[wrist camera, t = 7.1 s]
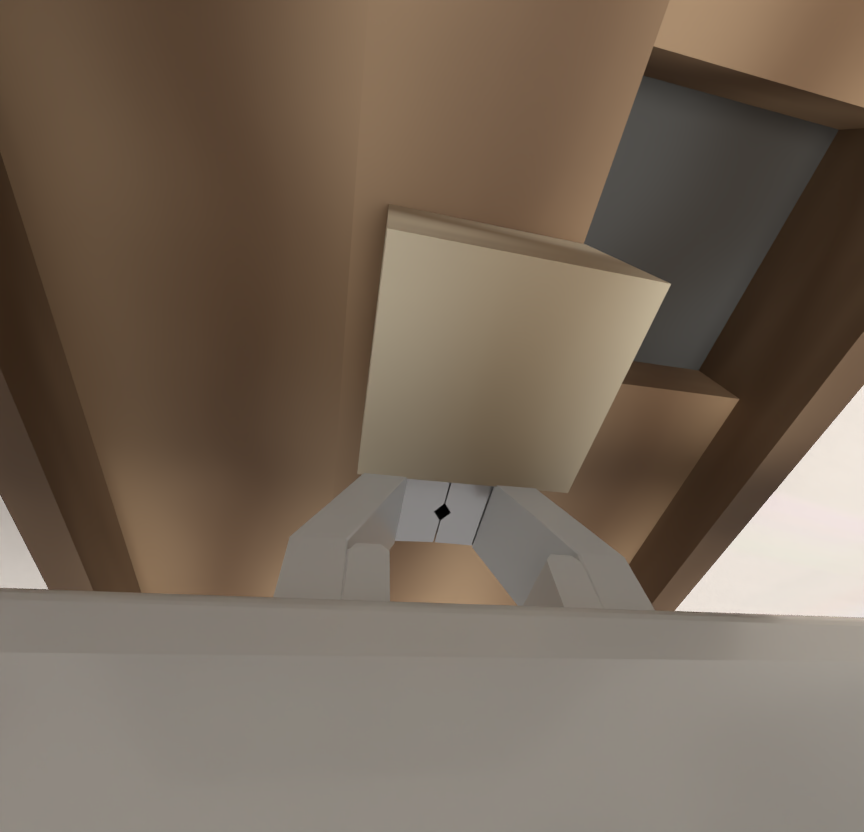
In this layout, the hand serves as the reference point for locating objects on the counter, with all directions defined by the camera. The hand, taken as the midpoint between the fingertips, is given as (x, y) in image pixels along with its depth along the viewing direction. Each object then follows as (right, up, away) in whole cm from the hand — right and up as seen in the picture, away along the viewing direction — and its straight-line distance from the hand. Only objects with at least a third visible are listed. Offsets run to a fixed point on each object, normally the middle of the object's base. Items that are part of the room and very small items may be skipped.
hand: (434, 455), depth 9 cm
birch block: (+1, +3, -1) cm, 3 cm away
